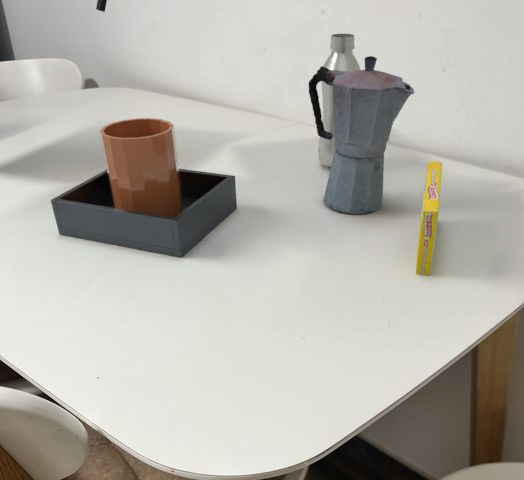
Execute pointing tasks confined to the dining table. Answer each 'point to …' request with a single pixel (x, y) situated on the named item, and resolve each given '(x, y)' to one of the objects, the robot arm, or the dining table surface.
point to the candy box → (429, 219)
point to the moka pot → (359, 133)
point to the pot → (143, 166)
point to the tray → (146, 214)
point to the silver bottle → (339, 61)
